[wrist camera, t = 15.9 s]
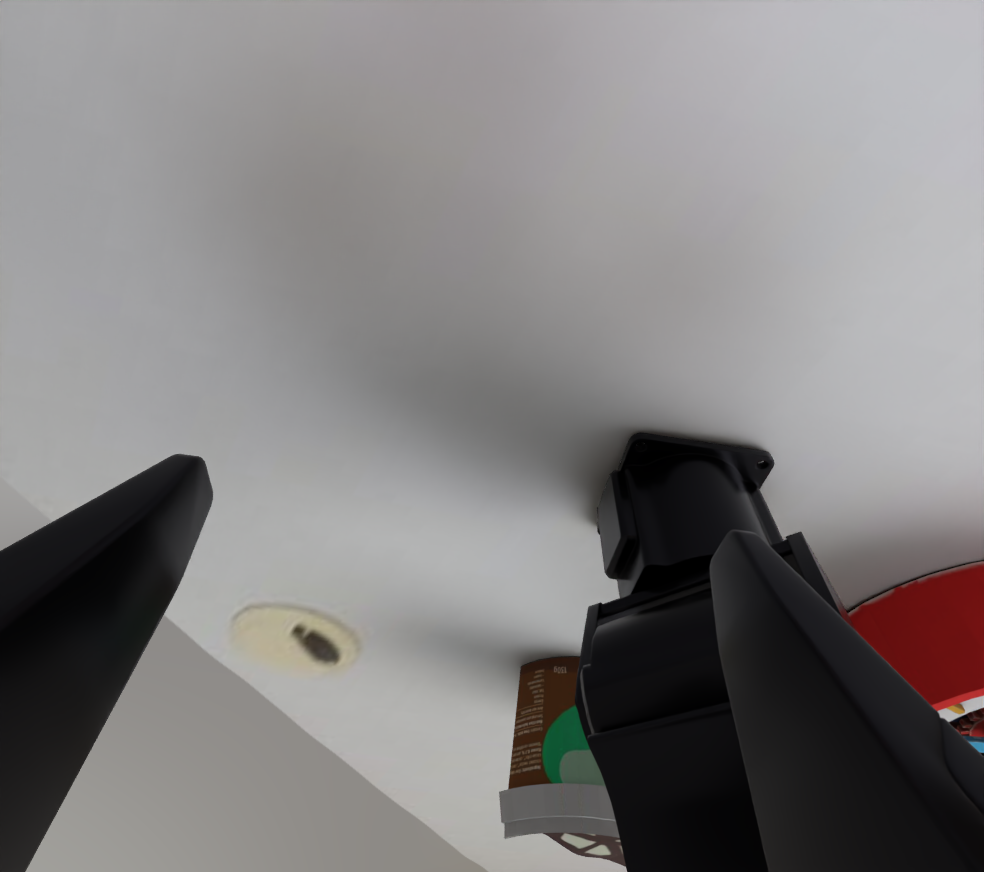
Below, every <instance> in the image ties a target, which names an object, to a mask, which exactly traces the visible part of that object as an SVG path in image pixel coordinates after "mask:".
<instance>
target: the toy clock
mask: <svg viewBox="0 0 984 872" xmlns="http://www.w3.org/2000/svg"><path fill="white" fill-rule="evenodd" d="M848 615H849V617H850V619H851V621H852V623H853V625H854V627H855V629H856V631H857V632H858V634H859V635H860V636H861V637H862V638H863V639H864V640H865V641H866V642H868V643H869V644H870V645H871V646H872V647H873V648H874V649H875V650H876V651H877V652H878V653H879V654H880V655H881V656H882V657H883V658H884V659H885V660H886V661H887V662H888V663H889V664H890V665H891V666H892V667H893V668H894V669H895V670H896V671H897V672H898V673H899V674H900V675H901V676H902V677H903V678H904V679H905V680H906V681H907V682H908V683H909V684H910V685H911V686H912V687H913V688H914V689H915V690H916V691H917V692H918V693H919V694H920V695H921V696H922V697H923V698H924V699H925V700H926V701H927V702H928V703H929V704H930V705H931V706H932V707H933V708H934V709H936V710H937V711H938V713H939V714H940V718H945V719H946V720H947V721H948V722H949V723H950V724H951V725H952V726H953V727H954V728H955V729H956V730H957V731H958V732H959V733H960V734H961V735H962V736H963V737H964V738H965V739H966V740H967V741H968V742H969V743H970V744H971V745H972V746H973V747H974V748H975V749H977V750H978V751H979V752H980V753H981V754H982V755H983V756H984V561H982V562H976V563H971V564H966V565H963V566H959V567H956V568H952V569H948V570H945V571H941V572H938V573H934V574H931V575H928V576H925V577H922V578H920V579H917V580H914V581H912V582H909V583H906V584H904V585H901V586H899V587H896V588H893V589H891V590H889V591H887V592H885V593H883V594H881V595H879V596H877V597H875V598H873V599H871V600H869V601H867V602H865V603H863V604H862V605H860V606H858V607H857V608H855V609H854V610H852V611H851V612H849V613H848Z"/></svg>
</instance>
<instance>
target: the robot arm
mask: <svg viewBox="0 0 984 872" xmlns="http://www.w3.org/2000/svg"><path fill="white" fill-rule="evenodd" d="M639 443H645V444H644V445H642V446H637V444H639ZM761 461H764V462H762V463H760V464H758V463H759V462H761ZM773 466H774V460H773V458H772V456H771V454H770V453H769V452H766V451H761V450H755V449H748V448H741V447H735V446H728V445H721V444H715V443H708V442H701V441H694V440H688V439H681V438H674V437H668V436H661V435H654V434H648V433H637V434H634V435H633V436H631V438H630V439H629V441H628V444H627V446H626V449H625V451H624V454H623V457H622V459H621V462H620V465H619V467H618V470H615V471H613V472H612V473H611V474H610V476H609V478H608V481H607V484H606V486H605V489H604V492H603V494H602V497H601V500H600V502H599V505H598V508H597V514H598V522H597V530H598V533H599V534H600V538H601V546H602V554H603V562H604V570H605V573H606V575H607V576H608V577H609V578H611V579H617V582H618V589H619V596H620V598H619V599H616V600H613V601H610V602H608V603H605V604H602V603H598V604H595V605H592V606H589V607H588V612H587V618H586V625H585V631H584V637H583V643H582V649H581V655H580V661H579V667H578V673H577V679H576V692H575V705H576V708H577V710H578V714H579V718H580V722H581V726H582V729H583V733H584V735H585V738H586V740H587V743H588V746H589V748H590V750H591V752H592V754H593V757H594V759H595V761H596V763H597V765H598V767H599V770H600V772H601V774H602V777H603V780H604V783H605V786H606V789H607V792H608V795H609V798H610V801H611V804H612V808H613V812H614V816H615V820H616V824H617V829H618V833H619V838H620V842H621V846H622V851H623V855H624V860H625V864H626V869H627V872H984V756H983V755H982V754H981V753H980V752H979V751H978V750H977V749H975V748H974V747H973V746H972V745H971V744H970V743H969V742H968V741H967V740H966V739H965V738H964V737H963V736H962V735H961V734H960V733H959V732H958V731H957V730H956V729H955V728H954V727H953V726H952V725H951V724H950V723H949V722H948V721H947V720H946V719H945V718H940V714H939V713H938V711H937V710H936V709H934V708H933V707H932V706H931V705H930V704H929V703H928V702H927V701H926V700H925V699H924V698H923V697H922V696H921V695H920V694H919V693H918V692H917V691H916V690H915V689H914V688H913V687H912V686H911V685H910V684H909V683H908V682H907V681H906V680H905V679H904V678H903V677H902V676H901V675H900V674H899V673H898V672H897V671H896V670H895V669H894V668H893V667H892V666H891V665H890V664H889V663H888V662H887V661H886V660H885V659H884V658H883V657H882V656H881V655H880V654H879V653H878V652H877V651H876V650H875V649H874V648H873V647H872V646H871V645H870V644H869V643H868V642H866V641H865V640H864V639H863V638H862V637H861V636H860V635H859V634H858V632H857V631H856V629H855V627H854V625H853V623H852V621H851V619H850V617H849V615H848V613H847V612H846V610H845V608H844V606H843V604H842V602H841V600H840V598H839V597H838V595H837V593H836V591H835V590H834V588H833V586H832V584H831V583H830V581H829V579H828V577H827V576H826V574H825V572H824V571H823V569H822V567H821V565H820V564H819V562H818V560H817V558H816V557H815V555H814V553H813V551H812V550H811V548H810V546H809V545H808V543H807V541H806V539H805V538H804V536H803V534H802V532H798V533H795V534H793V535H790V536H787V537H786V538H787V540H784V541H783V539H782V536H781V534H780V532H779V530H778V528H777V526H776V524H775V521H774V519H773V517H772V515H771V513H770V511H769V509H768V507H767V504H766V502H765V500H764V498H763V496H762V494H761V492H760V487H761V486H762V484H763V483H764V481H765V479H766V478H767V476H768V475H769V473H770V471H771V470H772V468H773ZM212 500H213V490H212V486H211V482H210V478H209V475H208V471H207V467H206V464H205V461H204V460H203V459H202V458H201V457H199V456H192V455H184V454H175V455H172V456H170V457H168V458H167V459H165V460H163V461H161V462H159V463H158V464H156V465H154V466H152V467H150V468H149V469H147V470H145V471H143V472H141V473H140V474H138V475H136V476H134V477H132V478H131V479H129V480H127V481H125V482H123V483H122V484H120V485H118V486H116V487H115V488H113V489H111V490H109V491H107V492H106V493H104V494H102V495H100V496H98V497H97V498H95V499H93V500H91V501H89V502H88V503H86V504H84V505H82V506H80V507H79V508H77V509H75V510H73V511H71V512H70V513H68V514H66V515H64V516H62V517H61V518H59V519H57V520H55V521H53V522H52V523H50V524H48V525H46V526H44V527H43V528H41V529H39V530H37V531H35V532H34V533H32V534H30V535H28V536H26V537H25V538H23V539H21V540H19V541H18V542H16V543H14V544H12V545H10V546H9V547H7V548H5V549H3V550H1V551H0V872H25V871H26V869H27V868H28V866H29V864H30V862H31V860H32V858H33V856H34V854H35V853H36V851H37V849H38V847H39V845H40V843H41V841H42V840H43V838H44V836H45V834H46V832H47V830H48V828H49V827H50V825H51V823H52V821H53V819H54V817H55V816H56V814H57V812H58V810H59V808H60V806H61V804H62V803H63V801H64V799H65V797H66V795H67V793H68V791H69V790H70V788H71V786H72V784H73V782H74V780H75V778H76V776H77V775H78V773H79V771H80V769H81V767H82V765H83V764H84V761H85V760H86V758H87V756H88V754H89V752H90V750H91V749H92V747H93V745H94V743H95V741H96V739H97V738H98V735H99V734H100V732H101V730H102V728H103V726H104V725H105V723H106V721H107V719H108V717H109V715H110V713H111V711H112V710H113V708H114V706H115V704H116V702H117V700H118V698H119V697H120V695H121V693H122V691H123V689H124V687H125V685H126V683H127V682H128V680H129V678H130V676H131V674H132V672H133V671H134V669H135V667H136V665H137V663H138V661H139V659H140V658H141V656H142V654H143V652H144V650H145V648H146V646H147V645H148V642H149V641H150V639H151V637H152V635H153V633H154V631H155V629H156V628H157V626H158V624H159V622H160V620H161V619H162V617H163V615H164V613H165V611H166V609H167V607H168V606H169V604H170V602H171V600H172V598H173V596H174V594H175V592H176V590H177V588H178V586H179V584H180V582H181V579H182V577H183V575H184V572H185V570H186V568H187V565H188V562H189V560H190V557H191V555H192V552H193V550H194V547H195V545H196V542H197V540H198V537H199V535H200V532H201V530H202V527H203V525H204V522H205V520H206V517H207V515H208V512H209V510H210V507H211V504H212Z"/></svg>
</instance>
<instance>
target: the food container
mask: <svg viewBox="0 0 984 872" xmlns="http://www.w3.org/2000/svg"><path fill="white" fill-rule="evenodd" d="M579 661H580V657H556V658H548V659H543V660H538V661H535V662H531V663H529V664H526V665H524V666H521V670H520V680H519V690H518V700H517V710H516V719H515V729H514V739H513V749H512V759H511V768H510V778H509V788H508V790H505V791H501V792H499V795H500V809H501V822H502V823H504V824H505V839H507V838H511V837H516V836H522V835H528V834H538V833H543V834H546V835H547V836H549V837H550V838H552V839H553V840H555V841H556V842H558V843H559V844H561V845H562V846H564V847H565V848H567V849H568V850H570V851H571V852H573V853H575V854H577V855H581V856H585V857H596V858H602V859H607V860H610V861H613V862H616V863H618V864H621V865H623V866H626V864H625V860H624V855H623V851H622V846H621V842H620V838H619V833H618V829H617V824H616V820H615V816H614V812H613V808H612V804H611V801H610V798H609V795H608V792H607V789H606V786H605V783H604V780H603V777H602V774H601V772H600V770H599V767H598V765H597V763H596V761H595V759H594V757H593V754H592V752H591V750H590V748H589V746H588V743H587V740H586V738H585V735H584V733H583V729H582V726H581V722H580V718H579V714H578V710H577V708H576V705H575V692H576V679H577V673H578V667H579Z"/></svg>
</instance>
